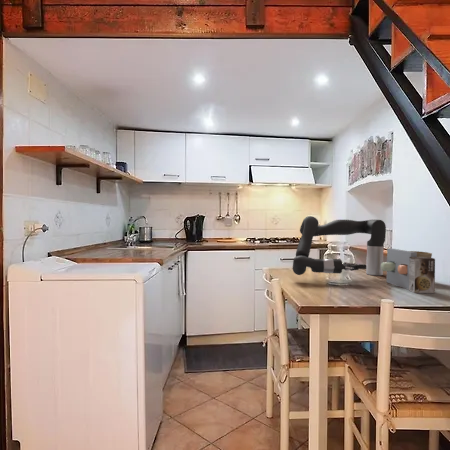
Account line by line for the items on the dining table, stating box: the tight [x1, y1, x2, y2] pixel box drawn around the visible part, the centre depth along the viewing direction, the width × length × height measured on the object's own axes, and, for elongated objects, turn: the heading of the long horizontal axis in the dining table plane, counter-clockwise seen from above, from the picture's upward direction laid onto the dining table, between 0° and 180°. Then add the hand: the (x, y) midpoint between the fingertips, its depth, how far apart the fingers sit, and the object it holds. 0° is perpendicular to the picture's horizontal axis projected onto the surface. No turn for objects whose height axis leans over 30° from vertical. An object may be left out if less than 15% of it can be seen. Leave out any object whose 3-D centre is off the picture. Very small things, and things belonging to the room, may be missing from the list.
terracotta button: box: [398, 265, 408, 274], centre depth 172 cm, size 4×7×4 cm, turn 96°
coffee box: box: [408, 257, 436, 294], centre depth 163 cm, size 9×6×16 cm
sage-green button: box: [381, 261, 395, 272], centre depth 181 cm, size 4×7×4 cm, turn 96°
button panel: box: [386, 248, 417, 291], centre depth 177 cm, size 20×3×18 cm, turn 6°
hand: (365, 266), depth 180 cm, fingers closed
